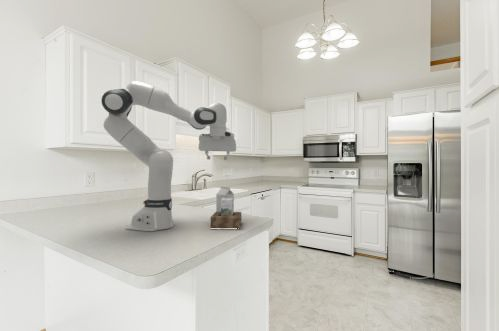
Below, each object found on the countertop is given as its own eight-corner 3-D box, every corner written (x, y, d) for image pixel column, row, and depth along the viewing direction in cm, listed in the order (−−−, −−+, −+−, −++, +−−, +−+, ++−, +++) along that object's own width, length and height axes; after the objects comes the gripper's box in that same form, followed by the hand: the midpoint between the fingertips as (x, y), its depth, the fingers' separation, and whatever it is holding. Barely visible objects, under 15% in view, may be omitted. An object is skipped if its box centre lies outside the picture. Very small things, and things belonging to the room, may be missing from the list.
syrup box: (233, 224, 127) (233, 197, 126) (231, 227, 121) (231, 199, 121) (222, 224, 127) (222, 197, 127) (220, 227, 121) (220, 198, 121)
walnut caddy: (210, 229, 117) (210, 217, 117) (216, 222, 131) (216, 211, 131) (238, 229, 116) (238, 217, 116) (241, 222, 130) (241, 212, 130)
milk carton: (225, 222, 132) (225, 187, 132) (216, 220, 136) (216, 187, 136) (233, 219, 137) (233, 187, 137) (224, 218, 142) (224, 186, 142)
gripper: (197, 132, 126) (196, 158, 126) (235, 133, 124) (234, 160, 124) (200, 134, 132) (199, 159, 132) (237, 135, 131) (236, 160, 131)
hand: (217, 159), depth 128 cm, fingers open, 8 cm apart
